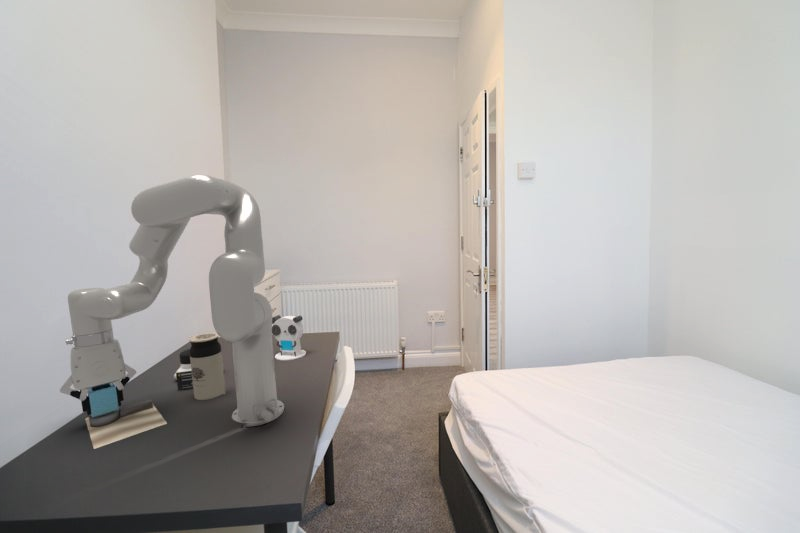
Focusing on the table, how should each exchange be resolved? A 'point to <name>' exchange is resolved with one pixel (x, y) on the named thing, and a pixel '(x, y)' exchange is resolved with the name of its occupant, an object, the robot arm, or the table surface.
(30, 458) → the table surface
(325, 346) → the table surface
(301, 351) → the panda figurine
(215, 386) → the travel mug
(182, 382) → the medicine bottle
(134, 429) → the door lever plate
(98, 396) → the hollow square tube
